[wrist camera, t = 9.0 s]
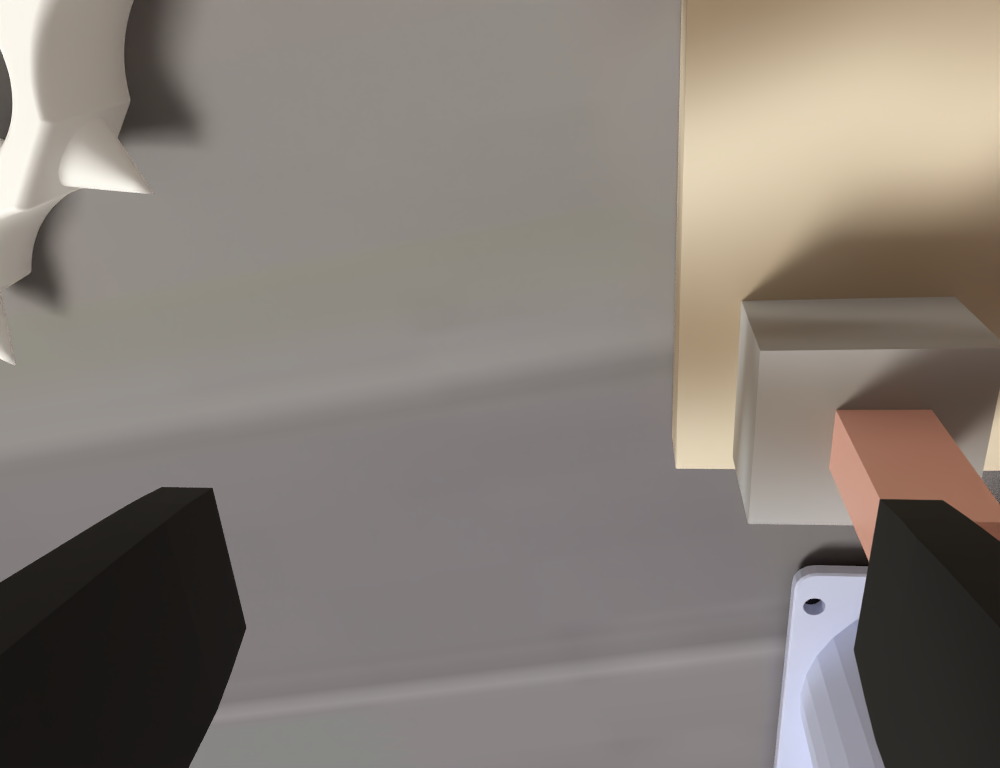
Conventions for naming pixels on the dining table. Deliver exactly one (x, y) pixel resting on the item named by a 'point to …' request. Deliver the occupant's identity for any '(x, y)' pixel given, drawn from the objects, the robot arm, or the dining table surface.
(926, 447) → the pink notched tray
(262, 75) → the dining table surface
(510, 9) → the dining table surface
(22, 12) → the white flat perforated piece
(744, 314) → the display stand
